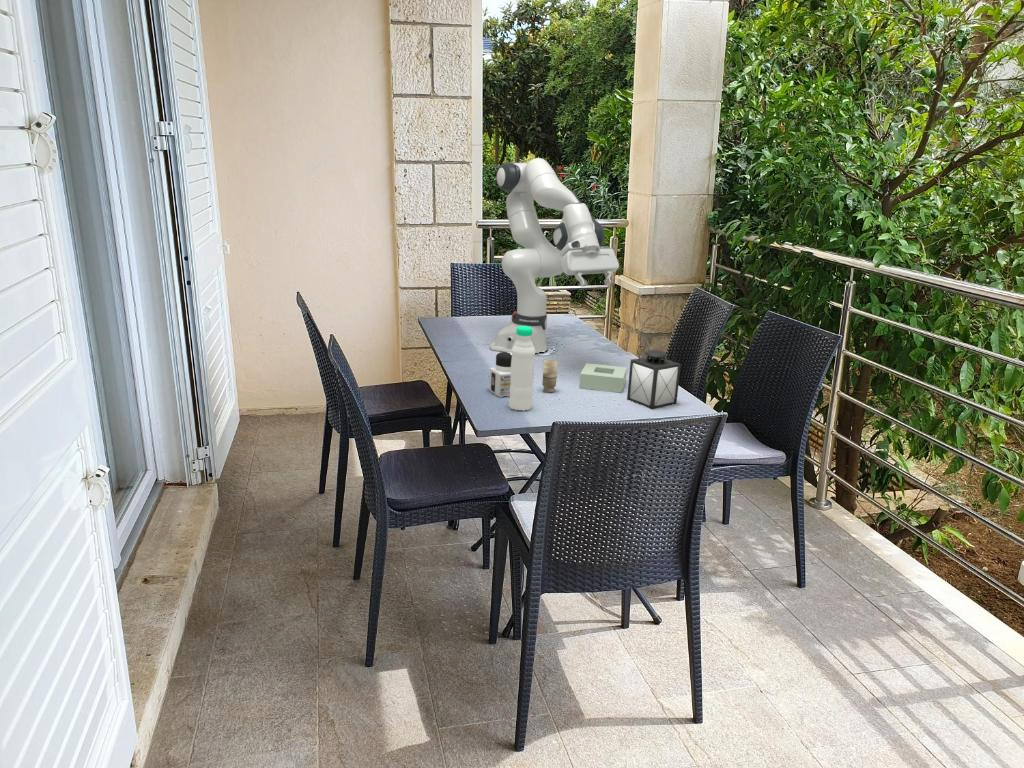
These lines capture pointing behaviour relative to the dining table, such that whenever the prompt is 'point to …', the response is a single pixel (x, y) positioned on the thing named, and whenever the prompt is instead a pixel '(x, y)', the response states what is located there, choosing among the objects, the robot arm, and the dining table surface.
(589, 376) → the hole block
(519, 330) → the water bottle
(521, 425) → the dining table surface
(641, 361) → the lantern
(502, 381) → the container
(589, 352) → the dining table surface
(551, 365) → the peg
